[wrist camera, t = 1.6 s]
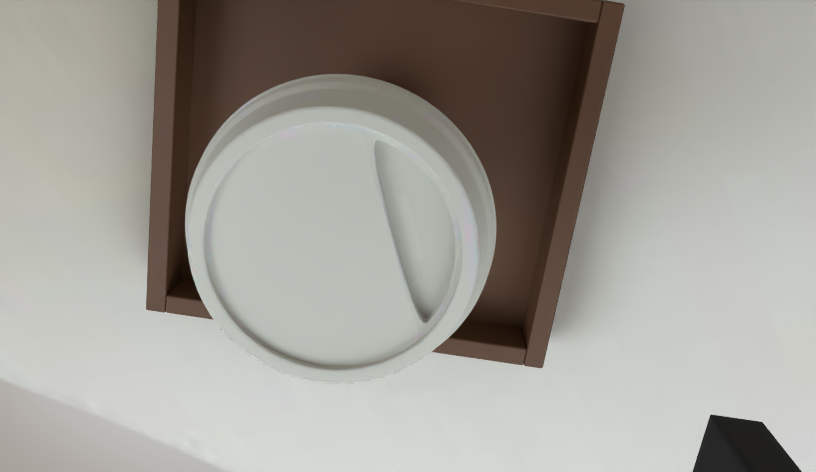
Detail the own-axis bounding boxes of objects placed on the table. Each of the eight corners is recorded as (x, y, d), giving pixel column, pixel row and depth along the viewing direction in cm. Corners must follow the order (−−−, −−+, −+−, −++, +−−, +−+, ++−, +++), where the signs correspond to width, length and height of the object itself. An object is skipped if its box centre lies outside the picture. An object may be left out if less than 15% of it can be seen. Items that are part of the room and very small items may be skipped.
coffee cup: (437, 281, 31) (438, 441, 20) (245, 221, 31) (134, 348, 19) (506, 90, 29) (554, 147, 17) (299, 21, 28) (206, 32, 17)
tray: (609, 3, 28) (625, 3, 26) (534, 342, 33) (542, 368, 30) (183, -62, 28) (160, -69, 26) (166, 287, 32) (145, 310, 30)
